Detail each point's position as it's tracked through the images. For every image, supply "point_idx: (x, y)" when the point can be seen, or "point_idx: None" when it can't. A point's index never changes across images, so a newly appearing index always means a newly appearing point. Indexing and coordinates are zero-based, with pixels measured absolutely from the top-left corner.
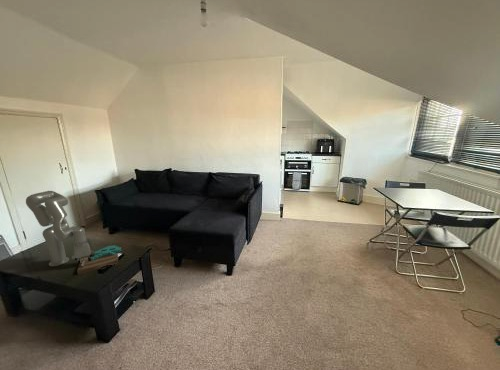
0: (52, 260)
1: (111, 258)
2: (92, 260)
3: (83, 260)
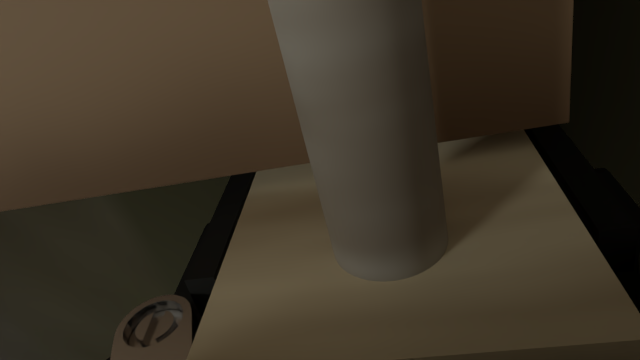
0: None
1: None
2: (80, 169)
3: (339, 79)
